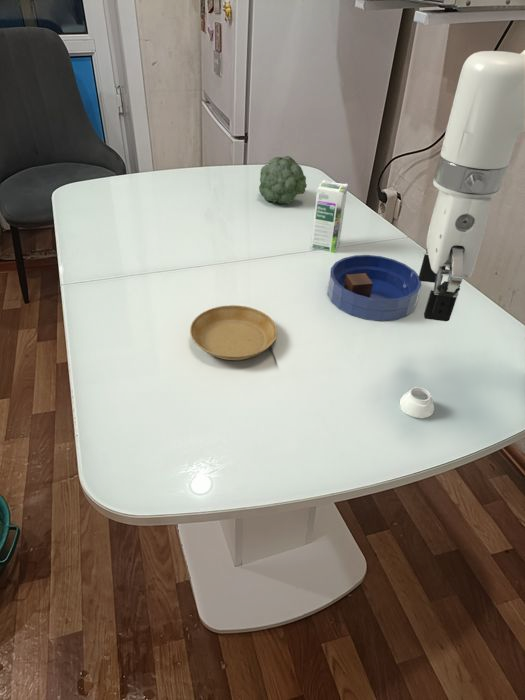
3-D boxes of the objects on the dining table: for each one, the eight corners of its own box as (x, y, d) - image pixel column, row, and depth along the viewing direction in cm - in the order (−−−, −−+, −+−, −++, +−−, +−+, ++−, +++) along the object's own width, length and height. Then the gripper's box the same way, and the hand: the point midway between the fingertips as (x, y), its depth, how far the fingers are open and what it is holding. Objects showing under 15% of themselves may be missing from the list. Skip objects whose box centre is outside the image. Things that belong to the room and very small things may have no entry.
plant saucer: (263, 312, 95) (264, 301, 94) (287, 362, 84) (288, 349, 83) (184, 322, 92) (184, 310, 90) (198, 374, 81) (197, 361, 79)
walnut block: (362, 290, 102) (365, 273, 99) (369, 301, 99) (373, 283, 96) (343, 292, 101) (346, 274, 99) (349, 303, 98) (353, 285, 96)
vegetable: (323, 190, 139) (304, 180, 126) (286, 218, 145) (265, 212, 131) (300, 154, 141) (279, 141, 127) (265, 183, 146) (241, 174, 133)
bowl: (411, 281, 107) (416, 259, 104) (419, 328, 93) (425, 305, 90) (329, 272, 108) (332, 251, 105) (325, 317, 95) (328, 294, 92)
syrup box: (309, 250, 116) (316, 187, 107) (316, 239, 120) (323, 178, 111) (334, 255, 115) (343, 192, 106) (339, 244, 119) (348, 182, 110)
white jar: (404, 392, 80) (395, 412, 76) (408, 378, 78) (399, 397, 74) (436, 403, 78) (428, 424, 74) (441, 389, 76) (433, 410, 73)
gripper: (519, 207, 52) (470, 340, 63) (489, 155, 66) (452, 271, 76) (444, 199, 53) (408, 332, 64) (429, 149, 67) (401, 265, 77)
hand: (432, 299), depth 70 cm, fingers open, 9 cm apart
